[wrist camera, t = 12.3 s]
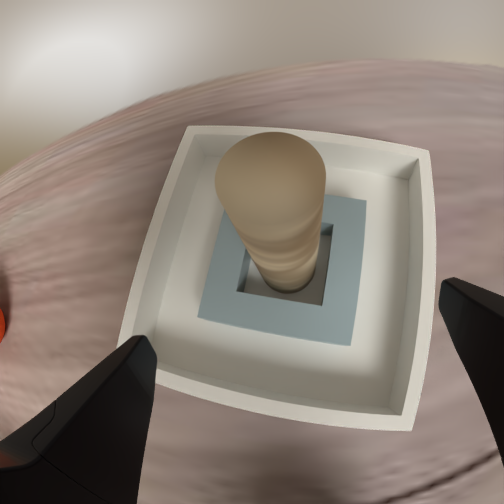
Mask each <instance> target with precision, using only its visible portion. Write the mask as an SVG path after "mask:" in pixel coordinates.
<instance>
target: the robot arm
mask: <svg viewBox="0 0 504 504" xmlns="http://www.w3.org/2000/svg"><path fill="white" fill-rule="evenodd" d="M438 305H439V310H440V312H441V315H442V317H443V319H444V322H445V324H446V327H447V329H448V331H449V334H450V336H451V339H452V341H453V344H454V346H455V349H456V351H457V353H458V355H459V357H460V359H461V361H462V363H463V365H464V367H465V369H466V371H467V373H468V375H469V377H470V380H471V382H472V384H473V386H474V388H475V391H476V393H477V395H478V397H479V400H480V402H481V404H482V407H483V409H484V412H485V414H486V417H487V419H488V422H489V424H490V427H491V430H492V432H493V435H494V438H495V441H496V444H497V447H498V450H499V453H500V456H501V460H502V463H503V466H504V297H503V296H501V295H498V294H496V293H494V292H491V291H489V290H486V289H484V288H481V287H479V286H476V285H473V284H471V283H468V282H466V281H463V280H460V279H458V278H455V277H452V278H448V279H445V280H443V281H442V283H441V289H440V296H439V303H438ZM156 370H157V355H156V352H155V351H154V349H153V347H152V345H151V343H150V341H149V340H148V338H147V337H146V336H145V335H134V336H132V337H130V338H129V339H128V340H127V341H126V342H124V343H123V344H122V345H121V346H119V347H118V348H117V349H116V350H115V351H113V352H112V353H111V354H110V355H109V356H107V357H106V358H105V359H104V360H103V361H101V362H100V363H99V364H98V365H97V366H95V367H94V368H93V369H92V370H90V371H89V372H88V373H87V374H86V375H84V376H83V377H82V378H81V379H80V380H78V381H77V382H76V383H75V384H74V385H73V386H71V387H70V388H69V389H68V390H67V391H65V392H64V393H63V394H62V395H61V396H59V397H58V398H57V400H55V401H53V402H52V403H51V404H50V405H49V406H47V407H46V408H45V409H44V410H42V411H41V412H40V413H39V414H38V415H36V416H35V417H34V418H32V419H31V420H30V421H28V422H27V423H26V424H24V425H23V426H21V427H20V428H19V429H17V430H16V431H14V432H13V433H12V434H10V435H9V436H7V437H6V438H5V439H3V440H2V441H0V504H137V497H138V490H139V483H140V476H141V469H142V463H143V457H144V451H145V445H146V439H147V433H148V428H149V423H150V417H151V412H152V407H153V400H154V391H155V380H156Z"/></svg>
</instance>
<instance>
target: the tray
mask: <svg viewBox="0 0 504 504" xmlns="http://www.w3.org/2000/svg"><path fill="white" fill-rule="evenodd" d="M263 132H284V133H289V134H293V135H295V136H298V137H300V138H302V139H304V140H306V141H307V142H309V143H310V144H311V145H312V146H313V147H314V148H315V149H316V150H317V151H318V153H319V154H320V156H321V157H322V159H323V162H324V165H325V169H326V184H325V194H324V204H323V213H322V222H321V231H320V239H319V247H318V254H317V262H316V269H315V274H314V277H313V279H312V281H311V282H310V283H309V284H308V286H306V287H305V288H304V289H302V290H301V291H298V292H296V293H291V294H284V293H279V292H277V291H275V290H273V289H271V288H270V287H269V286H268V285H267V284H266V283H265V281H264V280H263V278H262V276H261V274H260V272H259V271H258V269H257V267H256V265H255V263H254V262H253V260H252V258H251V256H250V254H249V253H248V251H247V249H246V247H245V245H244V244H243V242H242V240H241V238H240V236H239V235H238V233H237V231H236V229H235V227H234V226H233V224H232V222H231V220H230V218H229V216H228V215H227V213H226V211H225V209H224V207H223V206H222V204H221V202H220V200H219V198H218V196H217V193H216V189H215V173H216V169H217V167H218V164H219V162H220V160H221V159H222V157H223V156H224V154H225V153H226V152H227V151H228V150H229V149H230V148H231V147H232V146H233V145H235V144H236V143H238V142H239V141H241V140H243V139H244V138H247V137H249V136H251V135H255V134H258V133H263ZM435 278H436V223H435V204H434V191H433V180H432V171H431V163H430V155H429V150H424V149H420V148H416V147H411V146H406V145H401V144H396V143H391V142H386V141H380V140H375V139H369V138H363V137H356V136H349V135H342V134H335V133H327V132H318V131H308V130H298V129H286V128H272V127H253V126H187V129H186V131H185V133H184V136H183V138H182V140H181V143H180V145H179V148H178V150H177V153H176V155H175V157H174V160H173V163H172V165H171V168H170V170H169V173H168V175H167V178H166V181H165V183H164V186H163V189H162V191H161V194H160V197H159V200H158V203H157V205H156V208H155V211H154V214H153V217H152V220H151V223H150V226H149V229H148V232H147V235H146V238H145V242H144V245H143V248H142V251H141V255H140V258H139V261H138V265H137V268H136V272H135V275H134V279H133V283H132V286H131V290H130V294H129V298H128V301H127V305H126V309H125V314H124V318H123V322H122V326H121V331H120V335H119V340H118V344H117V348H118V347H119V346H121V345H122V344H123V343H124V342H126V341H127V340H128V339H129V338H130V337H132V336H134V335H145V336H146V337H147V338H148V340H149V341H150V343H151V345H152V347H153V349H154V351H155V352H156V355H157V370H156V380H155V383H157V384H159V385H162V386H165V387H168V388H171V389H174V390H177V391H180V392H183V393H186V394H189V395H192V396H195V397H199V398H202V399H205V400H209V401H212V402H216V403H220V404H223V405H227V406H231V407H235V408H239V409H243V410H247V411H251V412H256V413H260V414H265V415H270V416H275V417H280V418H285V419H291V420H296V421H302V422H309V423H315V424H323V425H330V426H339V427H348V428H359V429H372V430H391V431H412V428H413V424H414V421H415V417H416V413H417V409H418V404H419V400H420V396H421V391H422V386H423V381H424V376H425V371H426V365H427V359H428V352H429V345H430V338H431V330H432V320H433V310H434V297H435Z"/></svg>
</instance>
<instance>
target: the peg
mask: <svg viewBox="0 0 504 504" xmlns="http://www.w3.org/2000/svg"><path fill="white" fill-rule="evenodd" d="M325 184H326V169H325V165H324V162H323V159H322V157H321V156H320V154H319V153H318V151H317V150H316V149H315V148H314V147H313V146H312V145H311V144H310V143H309V142H307V141H306V140H304V139H302V138H300V137H298V136H295V135H293V134H289V133H284V132H263V133H258V134H255V135H251V136H249V137H247V138H244V139H243V140H241V141H239V142H238V143H236V144H235V145H233V146H232V147H231V148H230V149H229V150H228V151H227V152H226V153H225V154H224V156H223V157H222V159H221V160H220V162H219V164H218V167H217V169H216V173H215V189H216V193H217V196H218V198H219V200H220V202H221V204H222V206H223V207H224V209H225V211H226V213H227V215H228V216H229V218H230V220H231V222H232V224H233V226H234V227H235V229H236V231H237V233H238V235H239V236H240V238H241V240H242V242H243V244H244V245H245V247H246V249H247V251H248V253H249V254H250V256H251V258H252V260H253V262H254V263H255V265H256V267H257V269H258V271H259V272H260V274H261V276H262V278H263V280H264V281H265V283H266V284H267V285H268V286H269V287H270V288H271V289H273V290H275V291H277V292H279V293H284V294H291V293H296V292H298V291H301V290H302V289H304V288H305V287H306V286H308V284H309V283H310V282H311V281H312V279H313V277H314V274H315V269H316V262H317V254H318V247H319V239H320V231H321V222H322V213H323V204H324V194H325Z"/></svg>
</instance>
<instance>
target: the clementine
mask: <svg viewBox="0 0 504 504" xmlns="http://www.w3.org/2000/svg"><path fill="white" fill-rule="evenodd" d="M4 333H5V320H4V315H3V312H2V310H1V308H0V343H1V341H2V339H3V336H4Z"/></svg>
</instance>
